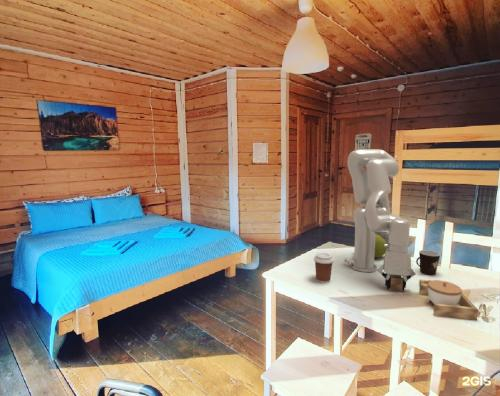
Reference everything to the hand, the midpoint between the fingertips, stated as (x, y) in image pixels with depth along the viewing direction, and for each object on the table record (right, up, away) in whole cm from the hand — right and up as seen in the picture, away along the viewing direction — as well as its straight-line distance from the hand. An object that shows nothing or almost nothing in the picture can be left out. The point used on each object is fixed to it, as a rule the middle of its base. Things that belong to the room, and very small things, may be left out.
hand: (395, 287), depth 125 cm
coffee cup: (-28, 0, +10) cm, 30 cm away
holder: (+14, -2, -9) cm, 17 cm away
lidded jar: (+12, -3, -13) cm, 18 cm away
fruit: (+6, +5, +39) cm, 40 cm away
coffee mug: (+23, +2, +17) cm, 28 cm away
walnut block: (0, -1, 0) cm, 1 cm away
